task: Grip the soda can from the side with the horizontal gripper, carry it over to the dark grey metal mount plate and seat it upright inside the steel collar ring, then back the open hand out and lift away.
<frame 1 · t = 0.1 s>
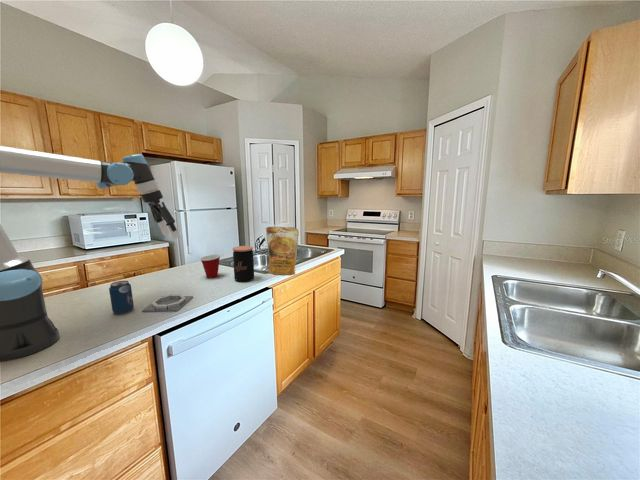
hand: (171, 235, 119), 28 cm above the countertop, tool tilted 20°, fingers open, 13 cm apart
plastic cup: (211, 277, 147), on the countertop
pancake mix bag: (282, 273, 153), on the countertop
mount plate: (169, 304, 110), on the countertop
coffee jar: (244, 279, 142), on the countertop
soda can: (123, 311, 104), on the countertop
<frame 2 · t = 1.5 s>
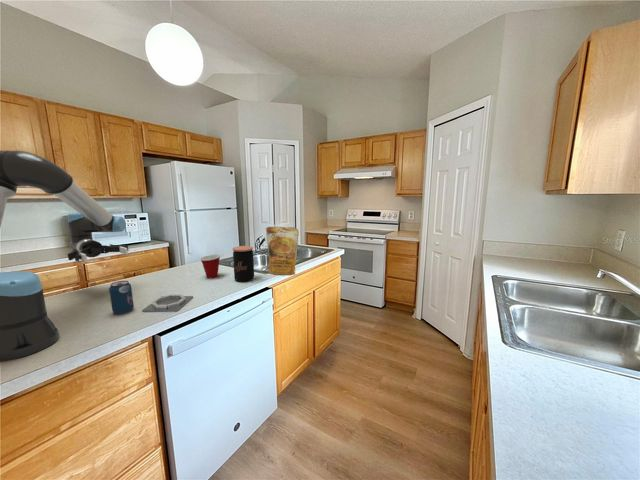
hand: (107, 254, 105), 22 cm above the countertop, tool horizontal, fingers open, 13 cm apart
nothing on the countertop moved.
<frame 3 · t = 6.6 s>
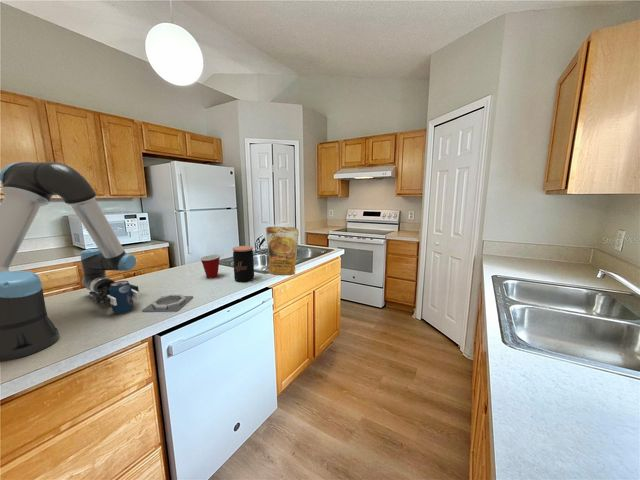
hand: (126, 298, 100), 7 cm above the countertop, tool horizontal, fingers closed on soda can, 7 cm apart
soda can: (123, 311, 104), on the countertop, touching gripper
everything else where it was.
when the fingers open (9 cm above the countertop, at t = 12.5 s): soda can drops 2 cm, resting on mount plate.
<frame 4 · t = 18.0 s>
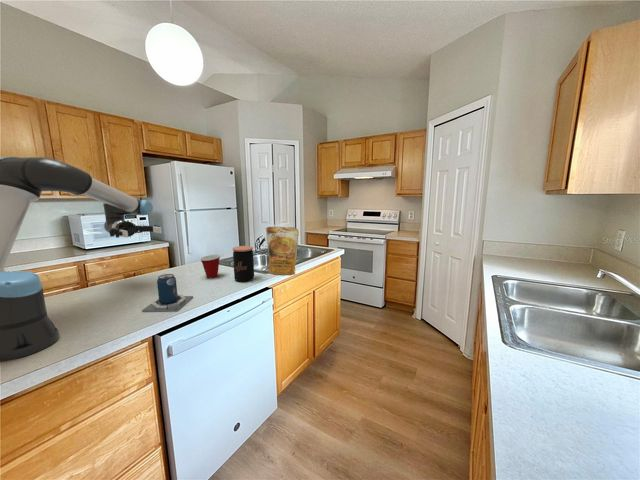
hand: (144, 232, 114), 30 cm above the countertop, tool horizontal, fingers open, 13 cm apart
soda can: (169, 303, 110), point 1 cm above the countertop, touching mount plate
everything else where it was.
at the end: soda can 0.1 cm off-centre on the mount plate, point 0.6 cm above the mount plate's base; soda can tilted 0°; the gripper is holding nothing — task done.
